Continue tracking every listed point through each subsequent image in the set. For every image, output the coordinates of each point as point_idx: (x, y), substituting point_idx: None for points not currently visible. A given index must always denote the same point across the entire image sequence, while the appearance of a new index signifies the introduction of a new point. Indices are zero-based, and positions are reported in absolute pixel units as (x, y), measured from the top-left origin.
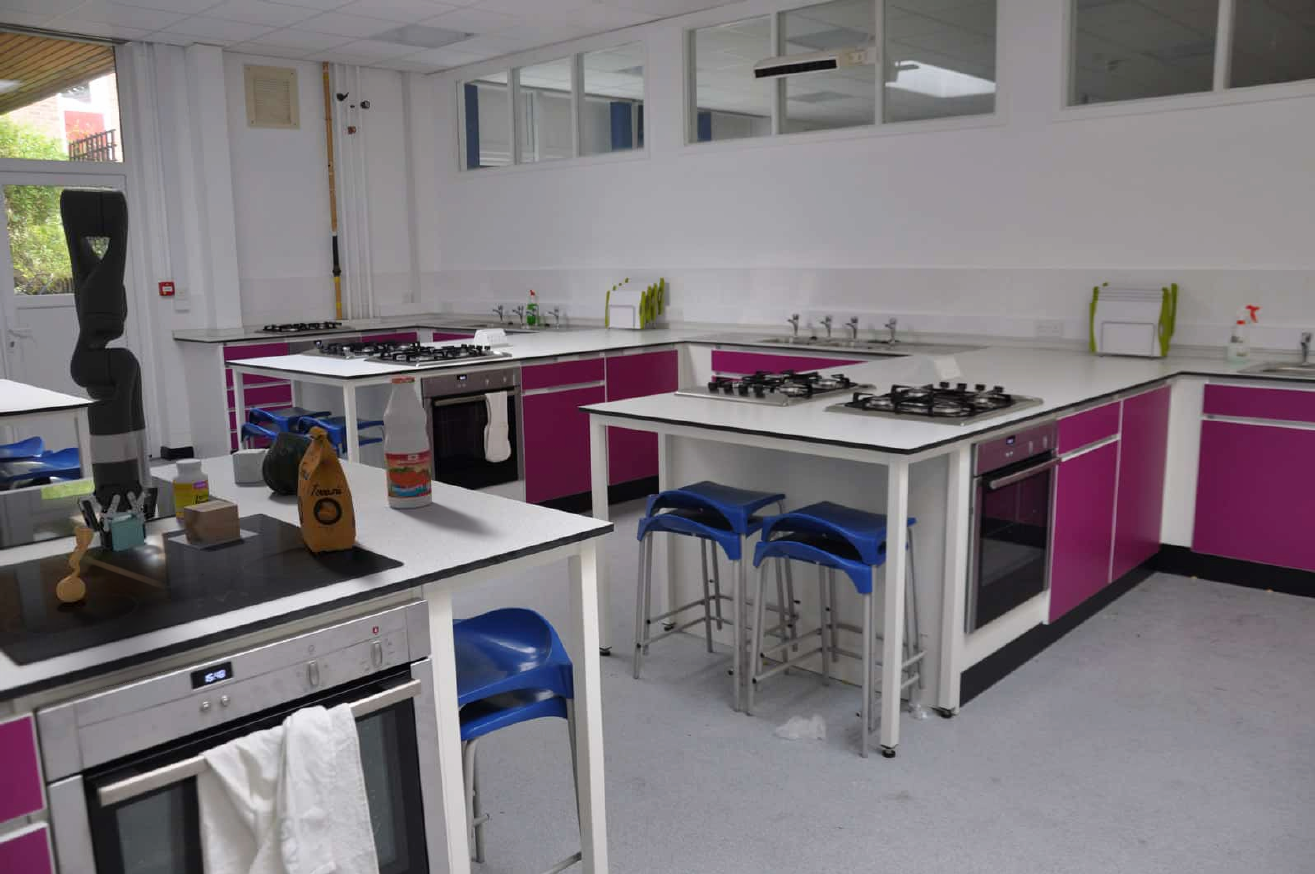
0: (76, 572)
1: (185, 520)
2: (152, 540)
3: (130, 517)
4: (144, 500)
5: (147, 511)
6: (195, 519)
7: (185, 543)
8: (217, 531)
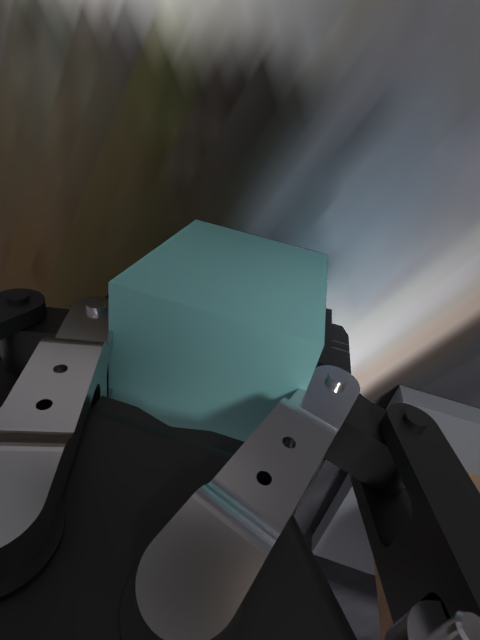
0: None
1: None
2: (455, 271)
3: (270, 406)
4: (437, 543)
5: (391, 474)
6: None
7: (353, 497)
8: None
